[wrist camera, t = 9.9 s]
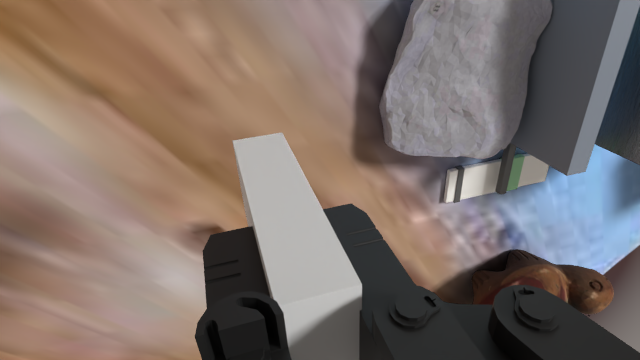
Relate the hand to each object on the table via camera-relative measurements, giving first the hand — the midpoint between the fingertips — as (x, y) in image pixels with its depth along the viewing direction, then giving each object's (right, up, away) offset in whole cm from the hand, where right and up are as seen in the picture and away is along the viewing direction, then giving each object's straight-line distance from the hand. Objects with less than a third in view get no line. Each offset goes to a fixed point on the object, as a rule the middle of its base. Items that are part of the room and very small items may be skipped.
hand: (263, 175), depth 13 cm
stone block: (+10, +8, +16) cm, 20 cm away
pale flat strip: (+17, 0, +22) cm, 28 cm away
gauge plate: (+16, +7, +17) cm, 25 cm away
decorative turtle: (+20, -10, +29) cm, 37 cm away
